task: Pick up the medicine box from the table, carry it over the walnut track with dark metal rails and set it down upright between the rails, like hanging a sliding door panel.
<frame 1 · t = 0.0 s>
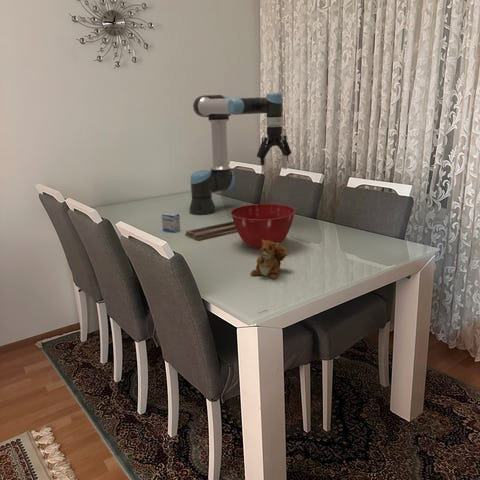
hand: (274, 170, 226), 28 cm above the table, tool pointing down, fingers open, 13 cm apart
medicine box: (171, 231, 228), on the table
stuffed squirrel: (270, 273, 170), on the table
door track: (217, 232, 223), on the table
mixing bowl: (263, 244, 203), on the table
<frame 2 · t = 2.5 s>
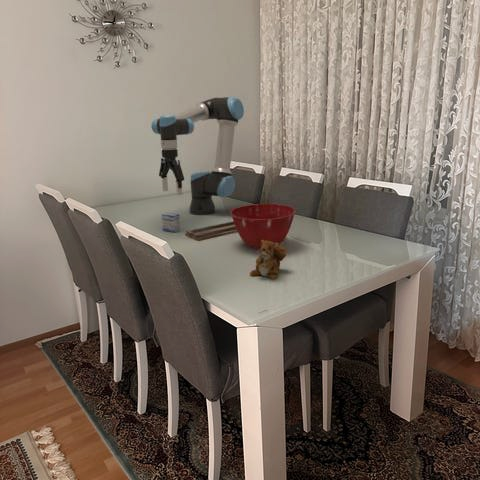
hand: (172, 193, 222), 19 cm above the table, tool pointing down, fingers open, 13 cm apart
nothing on the table moved.
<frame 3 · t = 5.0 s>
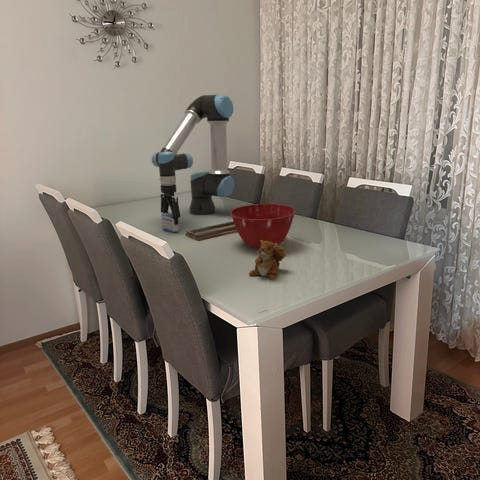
hand: (171, 228, 228), 1 cm above the table, tool pointing down, fingers closed on medicine box, 9 cm apart
medicine box: (171, 231, 228), on the table, touching gripper
everything else where it was.
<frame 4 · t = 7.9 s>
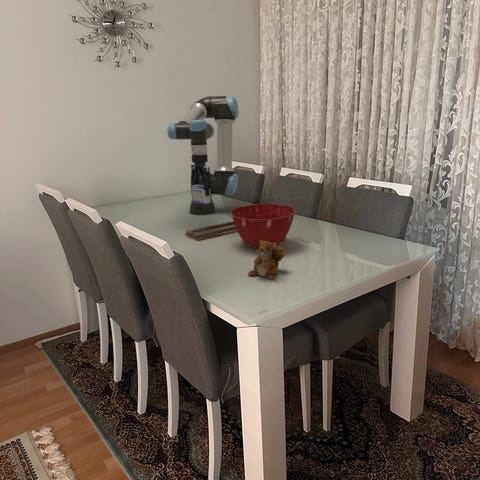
hand: (201, 201, 220), 16 cm above the table, tool pointing down, fingers closed on medicine box, 9 cm apart
medicine box: (201, 203, 220), point 14 cm above the table, touching gripper
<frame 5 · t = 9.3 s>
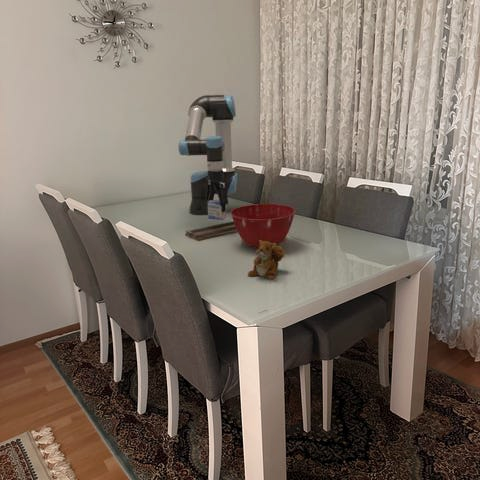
hand: (217, 216, 221), 8 cm above the table, tool pointing down, fingers closed on medicine box, 9 cm apart
medicine box: (217, 218, 221), point 7 cm above the table, touching gripper
when the fingers open (4 cm above the table, at t = 10.7 s): medicine box stays where it is, resting on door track.
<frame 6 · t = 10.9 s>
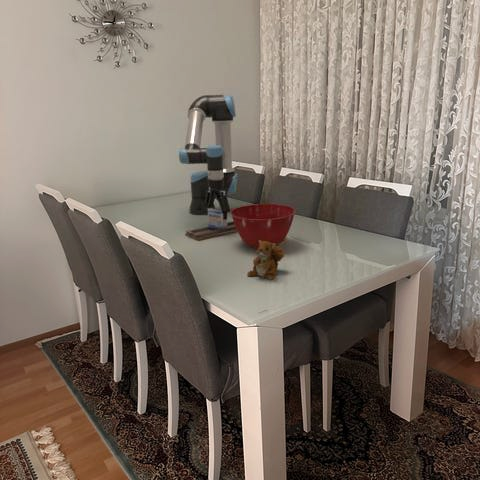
hand: (217, 223, 222), 5 cm above the table, tool pointing down, fingers open, 11 cm apart
medicine box: (217, 227, 222), point 2 cm above the table, touching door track
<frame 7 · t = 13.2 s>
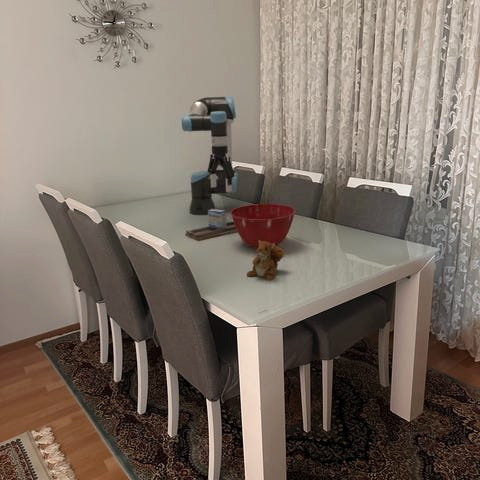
hand: (221, 189, 222), 20 cm above the table, tool pointing down, fingers open, 13 cm apart
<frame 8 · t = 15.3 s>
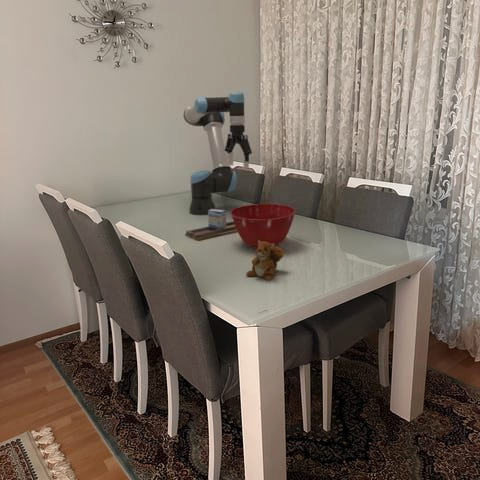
hand: (238, 166, 236), 29 cm above the table, tool pointing down, fingers open, 13 cm apart
at the end: medicine box inside the target area on the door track (0.1 cm from its centre), point 2.3 cm above the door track's base; medicine box tilted 0°; the gripper is holding nothing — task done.
